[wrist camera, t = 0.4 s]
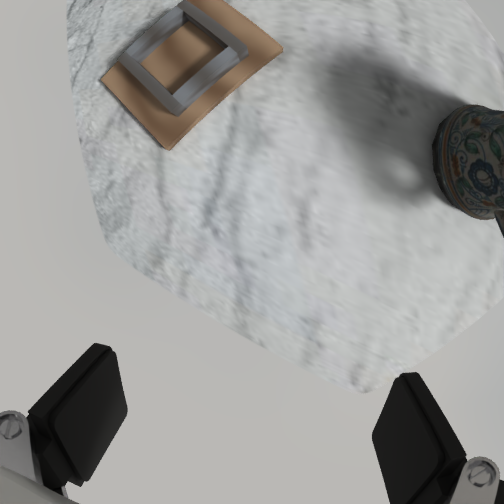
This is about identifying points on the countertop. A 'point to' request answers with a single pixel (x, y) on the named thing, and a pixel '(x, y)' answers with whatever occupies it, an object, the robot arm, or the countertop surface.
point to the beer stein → (472, 161)
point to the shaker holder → (188, 66)
